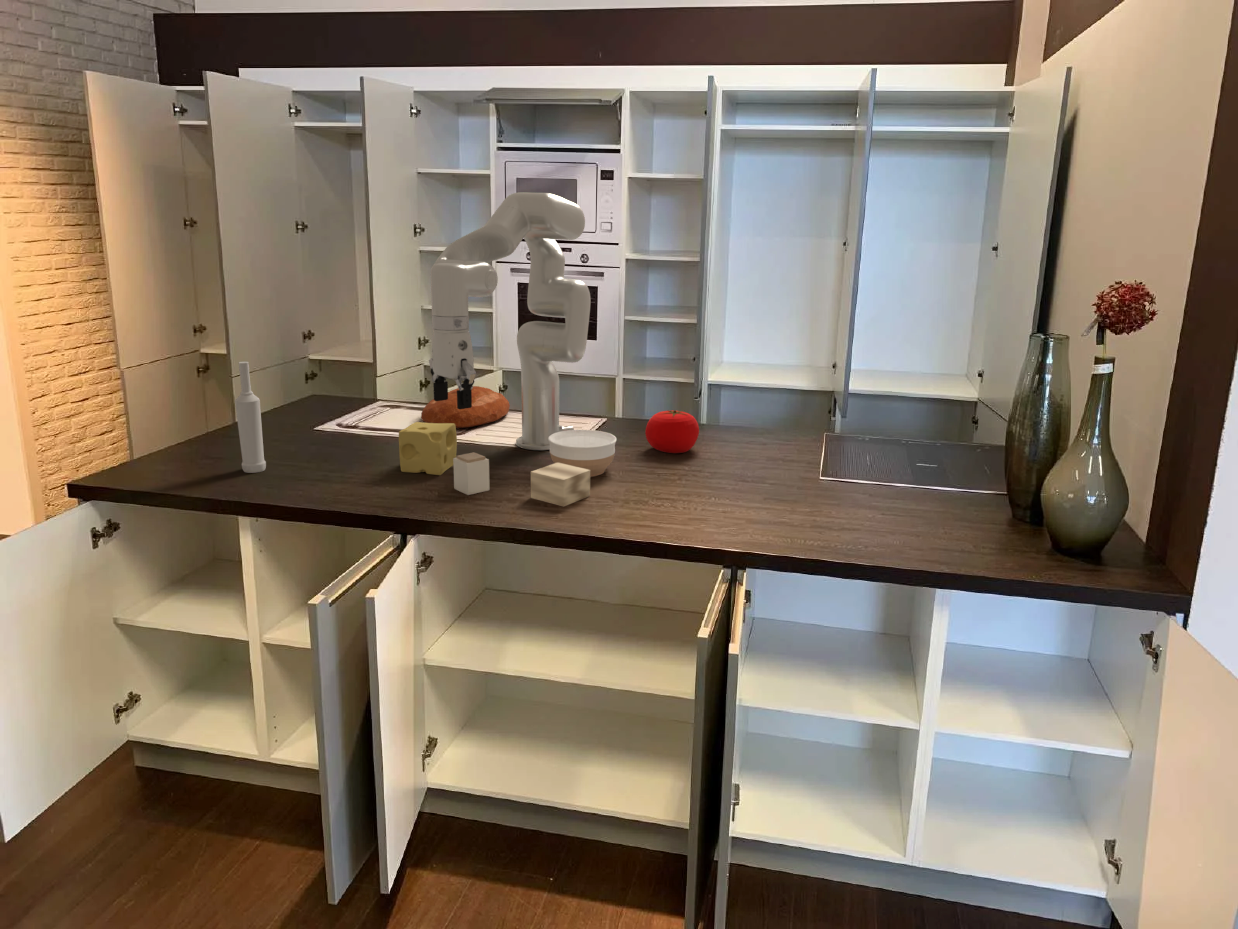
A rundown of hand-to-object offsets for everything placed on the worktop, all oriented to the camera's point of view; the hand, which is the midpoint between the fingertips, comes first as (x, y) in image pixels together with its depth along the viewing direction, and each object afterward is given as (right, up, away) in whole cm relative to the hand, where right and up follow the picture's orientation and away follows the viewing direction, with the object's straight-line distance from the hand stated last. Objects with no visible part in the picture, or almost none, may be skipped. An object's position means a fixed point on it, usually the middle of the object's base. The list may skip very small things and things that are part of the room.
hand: (452, 404), depth 193 cm
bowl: (+27, -14, +20) cm, 36 cm away
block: (+23, -20, +1) cm, 30 cm away
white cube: (+3, -18, +5) cm, 19 cm away
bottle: (-48, -14, +15) cm, 53 cm away
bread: (-8, 0, +67) cm, 67 cm away
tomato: (+49, -9, +38) cm, 63 cm away
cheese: (-9, -14, +19) cm, 26 cm away
